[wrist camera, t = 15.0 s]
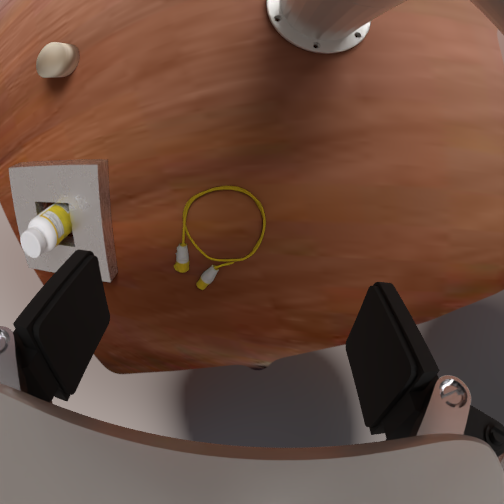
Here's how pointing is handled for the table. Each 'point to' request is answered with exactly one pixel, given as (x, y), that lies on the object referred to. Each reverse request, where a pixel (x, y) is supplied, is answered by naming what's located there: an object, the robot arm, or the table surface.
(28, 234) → the supplement bottle
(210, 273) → the extension cord
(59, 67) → the short stub
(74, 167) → the hole plate
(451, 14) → the table surface
